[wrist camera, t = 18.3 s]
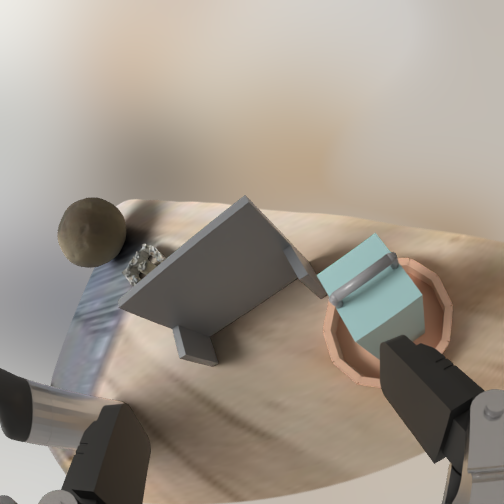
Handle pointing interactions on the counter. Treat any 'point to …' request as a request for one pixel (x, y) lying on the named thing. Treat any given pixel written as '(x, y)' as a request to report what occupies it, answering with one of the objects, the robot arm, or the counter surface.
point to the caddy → (374, 295)
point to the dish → (436, 335)
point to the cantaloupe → (91, 232)
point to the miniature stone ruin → (142, 263)
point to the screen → (219, 279)
